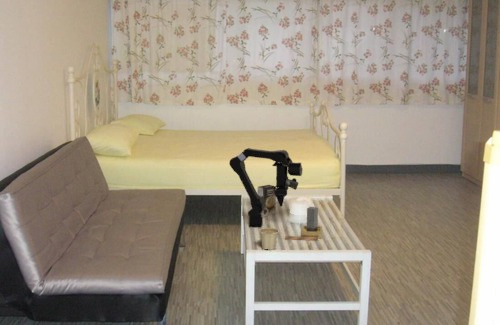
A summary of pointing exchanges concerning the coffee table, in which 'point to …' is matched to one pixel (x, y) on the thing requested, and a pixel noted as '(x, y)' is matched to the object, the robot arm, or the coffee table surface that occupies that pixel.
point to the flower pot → (268, 238)
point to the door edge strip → (301, 238)
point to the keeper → (312, 232)
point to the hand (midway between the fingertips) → (281, 204)
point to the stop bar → (312, 218)
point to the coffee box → (268, 199)
